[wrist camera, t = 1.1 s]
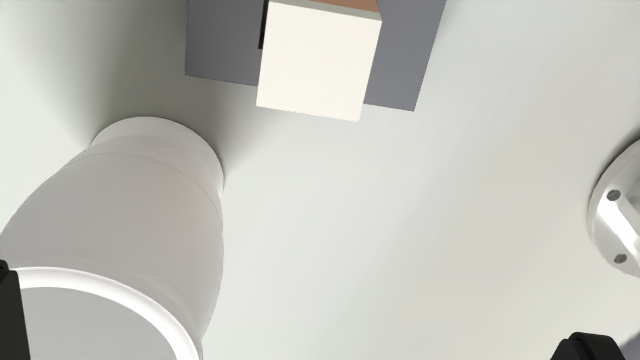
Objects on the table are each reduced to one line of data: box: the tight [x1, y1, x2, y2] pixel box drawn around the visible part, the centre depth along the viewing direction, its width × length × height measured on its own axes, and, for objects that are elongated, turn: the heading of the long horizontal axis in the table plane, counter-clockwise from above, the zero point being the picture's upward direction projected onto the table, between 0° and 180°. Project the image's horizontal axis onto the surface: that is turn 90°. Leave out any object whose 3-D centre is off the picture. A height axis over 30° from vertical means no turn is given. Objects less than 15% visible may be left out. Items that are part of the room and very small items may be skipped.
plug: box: [256, 0, 382, 122], centre depth 25 cm, size 4×4×10 cm
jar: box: [0, 117, 224, 360], centre depth 30 cm, size 11×10×15 cm
